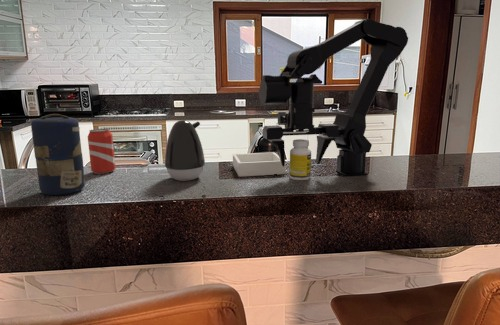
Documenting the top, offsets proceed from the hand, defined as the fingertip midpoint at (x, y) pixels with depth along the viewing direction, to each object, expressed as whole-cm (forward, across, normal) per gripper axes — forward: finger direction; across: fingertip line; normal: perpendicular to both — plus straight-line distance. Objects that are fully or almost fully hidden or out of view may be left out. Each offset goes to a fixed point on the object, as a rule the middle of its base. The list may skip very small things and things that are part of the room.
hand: (300, 165), depth 92 cm
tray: (+3, +9, -11) cm, 15 cm away
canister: (+4, +57, 0) cm, 57 cm away
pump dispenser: (+4, +29, -6) cm, 30 cm away
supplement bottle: (+4, 0, 0) cm, 4 cm away
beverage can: (+4, +52, -18) cm, 55 cm away
